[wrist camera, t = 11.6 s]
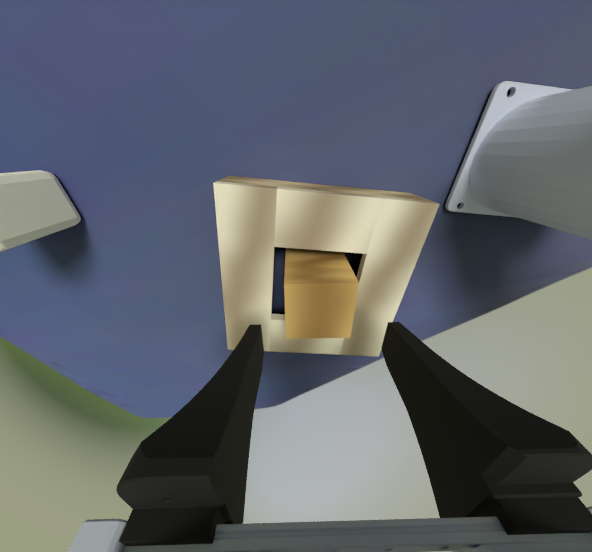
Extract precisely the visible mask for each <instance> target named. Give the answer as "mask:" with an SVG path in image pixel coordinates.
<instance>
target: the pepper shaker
mask: <svg viewBox="0 0 592 552" xmlns="http://www.w3.org/2000/svg"><path fill="white" fill-rule="evenodd" d="M80 221H81V217H80V215H79V213H78V211H77V210H76V208H75V207H74V205H73V203H72V202H71V200H70V198H69V197H68V195H67V194H66V192H65V190H64V189H63V187H62V185H61V184H60V182H59V181H58V179H57V178H56V177H55V176H54V175H53V174H52V173H49V172H45V171H41V170H36V171H24V172H12V173H0V252H1V251H4V250H7V249H10V248H13V247H15V246H18V245H21V244H24V243H27V242H30V241H32V240H35V239H38V238H41V237H44V236H47V235H49V234H52V233H55V232H58V231H61V230H64V229H67V228H69V227H72V226H75V225H76V224H78V223H79V222H80Z"/></svg>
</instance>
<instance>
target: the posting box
mask: <svg viewBox="0 0 592 552" xmlns="http://www.w3.org/2000/svg"><path fill="white" fill-rule="evenodd" d="M213 185H214V196H215V208H216V219H217V231H218V242H219V254H220V265H221V277H222V288H223V299H224V311H225V322H226V334H227V345H228V349H230V350H234V349H235V347H236V346H237V345H238V343H239V341H240V340H241V338H242V337H243V335H244V333H245V332H246V330H247V328H248V326H249V325H258V324H261V329H262V338H263V347H264V351H273V352H294V353H316V354H337V355H358V356H379V355H380V352H381V350H382V348H381V347H382V344H383V340H384V336H385V332H386V328H387V325H388V322H393V320H394V317H395V315H396V312H397V310H398V307H399V305H400V302H401V300H402V297H403V295H404V292H405V290H406V287H407V285H408V282H409V280H410V277H411V275H412V272H413V270H414V267H415V265H416V262H417V260H418V257H419V255H420V252H421V250H422V247H423V245H424V242H425V240H426V237H427V235H428V232H429V230H430V227H431V225H432V222H433V220H434V217H435V215H436V212H437V210H438V207H439V205H440V204H439V203H436V202H433V201H430V200H428V199H425V198H422V197H420V196H417V195H414V194H411V193H404V192H394V191H383V190H373V189H362V188H352V187H341V186H331V185H320V184H310V183H299V182H289V181H278V180H268V179H257V178H247V177H236V176H228V177H226V178H223V179H221V180H219V181H216V182H214V183H213ZM275 247H283V248H296V249H309V250H322V251H335V252H348V253H362V258H361V262H360V266H359V269H358V273H357V277H356V278H357V280H358V282H359V287H358V293H357V299H356V305H355V311H354V317H353V323H352V330H351V336H350V338H308V339H286V328H285V314H272V297H273V275H274V254H275Z"/></svg>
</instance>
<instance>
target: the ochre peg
mask: <svg viewBox="0 0 592 552" xmlns="http://www.w3.org/2000/svg"><path fill="white" fill-rule="evenodd" d="M358 287H359V282H358V280H357V278H356V276H355V274H354V272H353V270H352V268H351V266H350V264H349V262H348V260H347V258H346V256H345V254H344V252H335V251H322V250H309V249H296V248H286V255H285V275H284V298H285V328H286V339H308V338H350V336H351V330H352V323H353V317H354V311H355V305H356V299H357V293H358Z"/></svg>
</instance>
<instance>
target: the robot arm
mask: <svg viewBox="0 0 592 552" xmlns="http://www.w3.org/2000/svg"><path fill="white" fill-rule="evenodd" d="M509 89H510V95H509V96H508V97H507V91H508V90H509ZM459 203H461V204H460V206H459V207H458V208H457V205H458V204H459ZM445 208H446V209H447V210H449V211H452V212H463V213H474V214H485V215H496V216H507V217H517V218H521V219H524V220H527V221H531V222H534V223H537V224H541V225H544V226H547V227H551V228H554V229H557V230H561V231H564V232H567V233H571V234H574V235H577V236H581V237H584V238H587V239H591V240H592V86H589V87H585V88H580V89H575V90H572V89H564V88H556V87H549V86H541V85H534V84H526V83H518V82H511V81H504V82H501V83H499V84H497V85H496V86H495V87H494V89H493V91H492V93H491V95H490V97H489V100H488V102H487V105H486V107H485V110H484V112H483V114H482V117H481V119H480V122H479V124H478V127H477V129H476V131H475V134H474V136H473V139H472V141H471V144H470V146H469V148H468V151H467V153H466V156H465V158H464V160H463V163H462V165H461V168H460V170H459V173H458V175H457V177H456V180H455V182H454V185H453V187H452V190H451V192H450V194H449V197H448V199H447V202H446V205H445ZM381 348H382V352H383V355H384V358H385V361H386V364H387V367H388V369H389V371H390V374H391V376H392V378H393V380H394V382H395V385H396V387H397V389H398V391H399V393H400V395H401V398H402V400H403V402H404V404H405V406H406V408H407V411H408V414H409V416H410V419H411V422H412V425H413V428H414V431H415V434H416V437H417V440H418V443H419V445H420V449H421V451H422V455H423V458H424V462H425V465H426V468H427V472H428V475H429V478H430V482H431V486H432V489H433V493H434V496H435V500H436V504H437V508H438V512H439V516H440V518H431V519H430V518H429V519H395V520H361V521H326V522H291V523H290V522H289V523H255V524H242V523H243V516H244V504H245V491H246V479H247V469H248V458H249V448H250V438H251V429H252V420H253V413H254V407H255V402H256V397H257V392H258V387H259V382H260V377H261V372H262V365H263V354H264V347H263V338H262V329H261V324H258V325H249V326H248V328H247V330H246V332H245V333H244V335H243V337H242V338H241V340H240V341H239V343H238V345H237V346H236V347H235V349H234V350H233V352H232V353H231V355H230V356H229V357H228V359H227V360H226V361H225V363H224V364H223V365H222V367H221V368H220V369H219V370H218V372H217V373H216V374H215V375H214V376H213V378H212V379H211V380H210V381H209V382H208V383H207V384H206V385H205V386H204V387H203V388H202V389H201V391H200V392H199V393H198V394H197V395H196V396H195V397H194V398H193V399H192V400H191V401H190V402H189V403H187V404H186V405H185V406H184V407H183V408H182V409H181V410H180V411H179V412H177V413H176V414H175V415H174V416H173V417H172V418H171V419H170V420H168V421H167V422H166V423H165V424H163V425H162V426H161V427H160V428H158V429H157V430H156V431H155V432H153V433H152V434H151V435H150V436H149V437H147V438H146V439H145V440H143V441H142V442H141V444H140V445H139V447H138V449H137V450H136V452H135V453H134V455H133V457H132V458H131V460H130V462H129V464H128V466H127V468H126V470H125V472H124V474H123V476H122V478H121V480H120V481H119V483H118V485H117V493H118V495H119V496H120V497H121V498H122V499H123V500H124V501H125V502H126V503H127V504H128V505H129V506H131V508H133V510H132V513H131V515H130V517H129V519H128V521H126V520H121V519H99V520H98V519H95V520H86V521H85V522H83V524H82V526H81V527H80V529H79V531H78V533H77V535H76V537H75V538H74V540H73V542H72V544H71V545H70V547H69V549H68V551H67V552H428V551H453V552H592V506H591V507H587V508H586V507H585V505H584V504H583V503H582V502H581V500H580V499H579V498H578V497H581V496H582V493H581V492H580V490H579V489H578V488H577V487H576V486H575V485H574V483H573V482H574V481H575V480H577V479H578V478H580V477H581V476H583V475H585V474H586V473H588V472H589V471H590V470H591V469H592V454H591V453H590V452H589V451H588V450H587V449H586V448H585V447H584V446H583V445H582V444H581V443H580V442H579V441H578V440H577V439H576V438H575V437H574V436H573V435H572V434H571V433H570V432H569V431H567V430H565V429H563V428H561V427H559V426H557V425H554V424H553V423H550V422H548V421H546V420H544V419H542V418H540V417H538V416H536V415H534V414H532V413H529V412H528V411H526V410H524V409H522V408H520V407H518V406H516V405H514V404H513V403H511V402H509V401H507V400H505V399H504V398H502V397H500V396H498V395H497V394H495V393H493V392H492V391H490V390H488V389H487V388H485V387H483V386H482V385H480V384H478V383H477V382H475V381H474V380H472V379H471V378H469V377H467V376H466V375H465V374H463V373H462V372H460V371H459V370H457V369H456V368H455V367H453V366H452V365H450V364H449V363H448V362H447V361H445V360H444V359H442V358H441V357H440V356H439V355H437V354H436V353H435V352H433V351H432V350H431V349H430V348H429V347H427V346H426V345H425V344H424V343H423V342H422V341H420V340H419V339H418V338H417V337H416V336H415V335H413V334H412V333H411V332H410V331H409V330H408V329H406V328H405V327H404V326H403V325H402V324H401V323H399V322H388V325H387V328H386V332H385V336H384V340H383V344H382V347H381Z"/></svg>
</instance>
